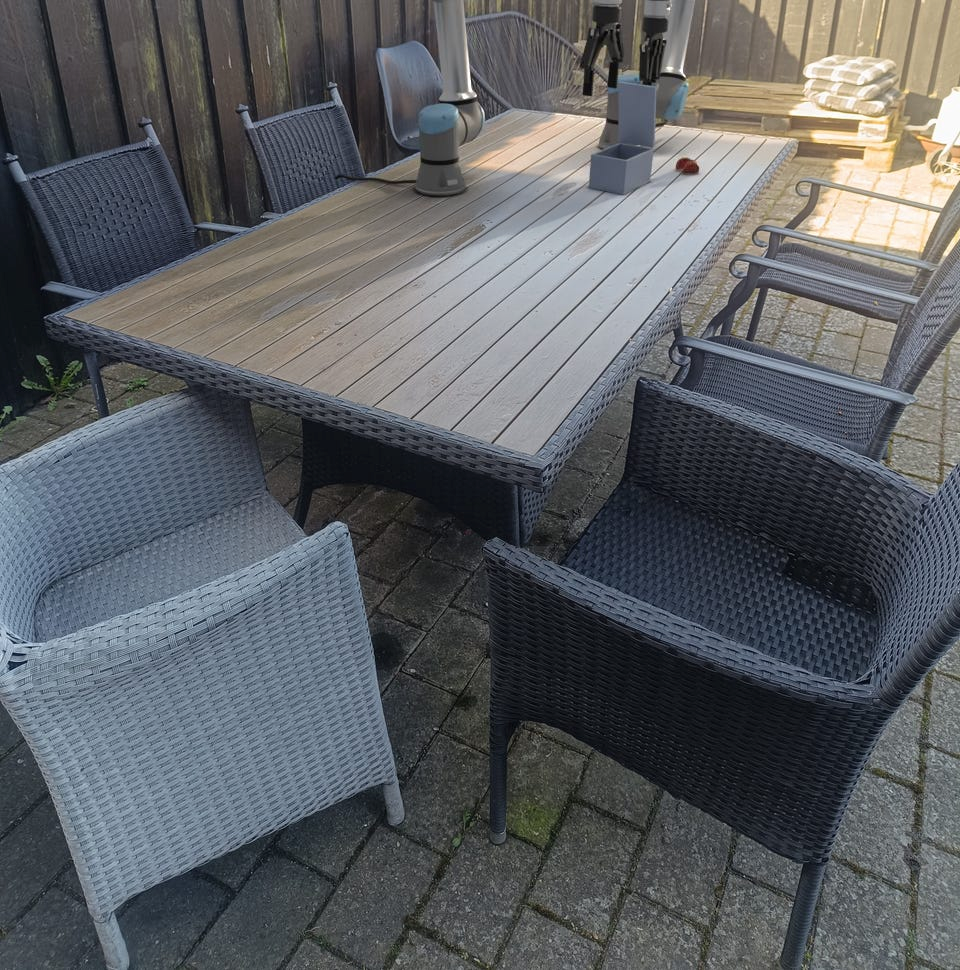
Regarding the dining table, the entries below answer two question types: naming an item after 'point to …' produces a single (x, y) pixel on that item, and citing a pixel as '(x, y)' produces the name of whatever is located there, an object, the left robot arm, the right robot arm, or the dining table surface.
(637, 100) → the lid
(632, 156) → the chest
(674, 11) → the right robot arm
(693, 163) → the dark red rounded lump
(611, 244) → the dining table surface
